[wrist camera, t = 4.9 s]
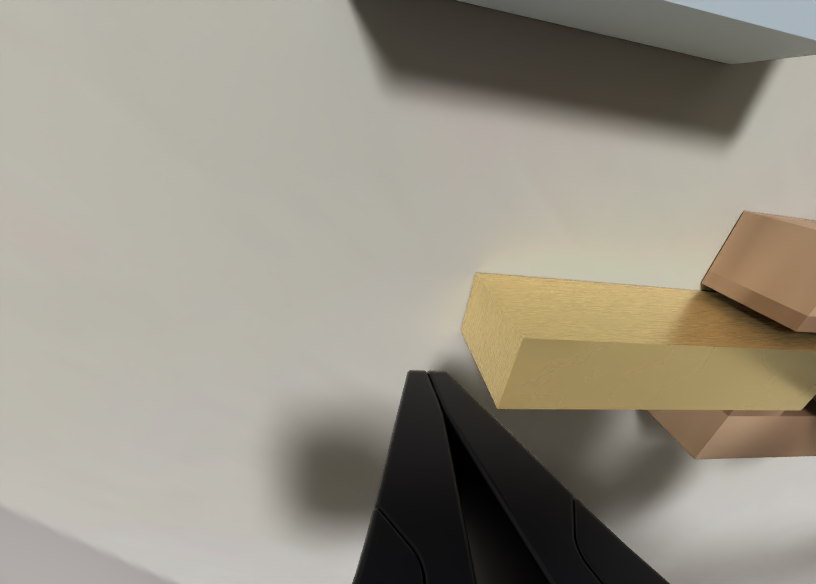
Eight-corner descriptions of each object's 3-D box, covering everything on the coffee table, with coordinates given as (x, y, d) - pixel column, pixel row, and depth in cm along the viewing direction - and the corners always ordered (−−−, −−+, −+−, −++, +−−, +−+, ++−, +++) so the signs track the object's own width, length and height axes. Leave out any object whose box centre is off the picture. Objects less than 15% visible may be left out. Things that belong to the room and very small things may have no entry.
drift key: (732, 293, 13) (853, 353, 10) (700, 342, 14) (801, 410, 11) (475, 272, 11) (523, 337, 8) (461, 330, 12) (497, 409, 9)
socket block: (920, 235, 12) (1070, 269, 10) (780, 397, 16) (863, 454, 13) (744, 210, 11) (865, 243, 8) (633, 396, 15) (694, 459, 12)
